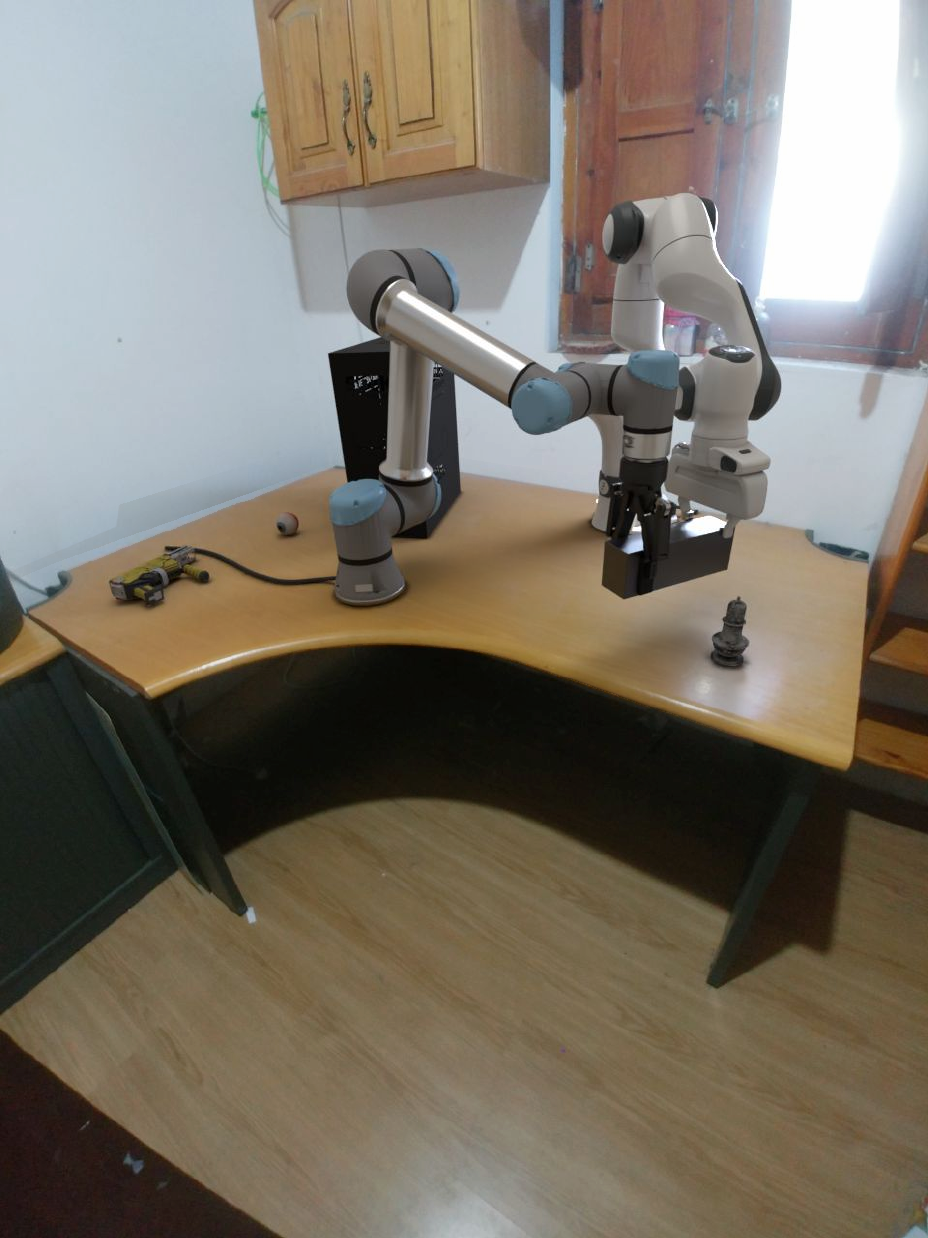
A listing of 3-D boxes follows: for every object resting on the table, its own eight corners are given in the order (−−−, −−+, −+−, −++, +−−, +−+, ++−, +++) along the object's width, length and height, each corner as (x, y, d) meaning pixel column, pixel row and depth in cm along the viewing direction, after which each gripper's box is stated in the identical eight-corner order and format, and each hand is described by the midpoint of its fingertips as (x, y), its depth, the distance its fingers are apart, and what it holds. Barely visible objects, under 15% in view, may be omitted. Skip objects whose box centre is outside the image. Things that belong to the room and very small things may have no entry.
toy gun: (232, 553, 147) (182, 542, 151) (158, 593, 127) (102, 580, 131) (234, 570, 150) (185, 559, 154) (162, 613, 130) (107, 599, 134)
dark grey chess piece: (748, 668, 101) (762, 605, 95) (711, 665, 102) (722, 603, 96) (741, 649, 106) (754, 588, 100) (706, 647, 107) (717, 586, 101)
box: (702, 557, 117) (709, 515, 113) (727, 569, 112) (735, 525, 108) (601, 585, 109) (604, 540, 105) (623, 599, 104) (628, 553, 100)
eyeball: (273, 537, 164) (268, 516, 161) (287, 528, 169) (282, 508, 166) (291, 539, 161) (286, 518, 158) (305, 530, 166) (301, 510, 163)
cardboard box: (427, 537, 157) (411, 350, 135) (355, 534, 162) (327, 353, 139) (460, 491, 189) (452, 333, 166) (399, 490, 194) (383, 336, 171)
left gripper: (589, 447, 103) (582, 569, 114) (667, 475, 87) (650, 613, 99) (625, 440, 105) (615, 560, 117) (707, 466, 90) (686, 602, 101)
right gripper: (660, 442, 110) (652, 514, 116) (750, 467, 93) (735, 550, 100) (687, 437, 112) (678, 508, 118) (779, 461, 95) (763, 542, 102)
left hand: (631, 584), depth 108 cm, fingers closed on box, 6 cm apart
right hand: (705, 528), depth 109 cm, fingers open, 8 cm apart
